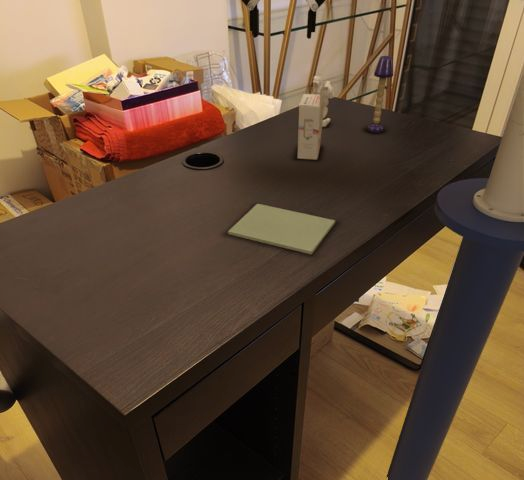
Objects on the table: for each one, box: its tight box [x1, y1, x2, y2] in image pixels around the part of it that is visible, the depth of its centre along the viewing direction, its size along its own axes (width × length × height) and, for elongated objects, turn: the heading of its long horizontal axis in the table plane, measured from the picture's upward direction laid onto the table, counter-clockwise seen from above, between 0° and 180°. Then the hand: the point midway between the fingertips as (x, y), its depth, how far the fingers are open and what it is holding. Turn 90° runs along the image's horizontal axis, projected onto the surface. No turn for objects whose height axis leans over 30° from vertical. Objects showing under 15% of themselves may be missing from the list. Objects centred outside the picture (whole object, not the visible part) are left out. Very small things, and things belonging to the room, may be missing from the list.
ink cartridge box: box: [296, 80, 325, 161], centre depth 108 cm, size 9×5×15 cm, turn 170°
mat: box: [227, 203, 336, 255], centre depth 87 cm, size 16×12×1 cm
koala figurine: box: [311, 75, 336, 128], centre depth 123 cm, size 8×7×12 cm
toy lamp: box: [366, 55, 394, 134], centre depth 119 cm, size 5×5×17 cm
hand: (282, 36), depth 86 cm, fingers open, 9 cm apart
